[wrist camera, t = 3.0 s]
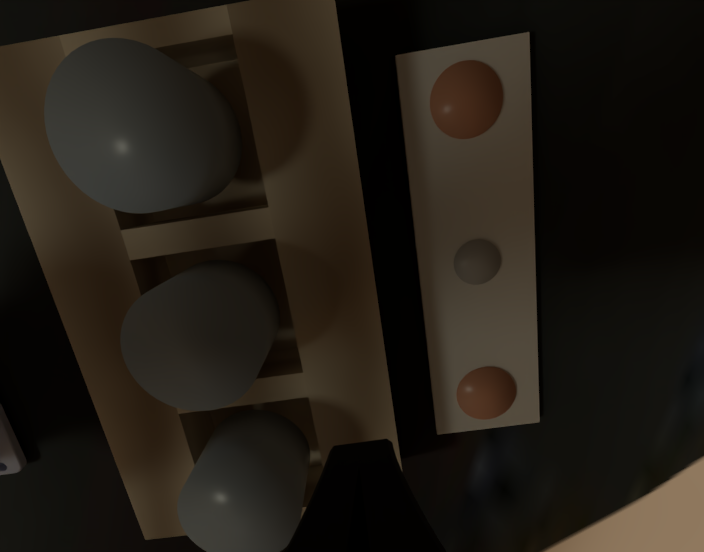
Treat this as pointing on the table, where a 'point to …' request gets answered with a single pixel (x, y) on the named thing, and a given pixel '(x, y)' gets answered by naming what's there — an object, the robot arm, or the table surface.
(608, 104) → the table surface
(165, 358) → the button
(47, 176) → the wooden tray
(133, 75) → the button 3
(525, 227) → the pattern card
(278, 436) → the button
